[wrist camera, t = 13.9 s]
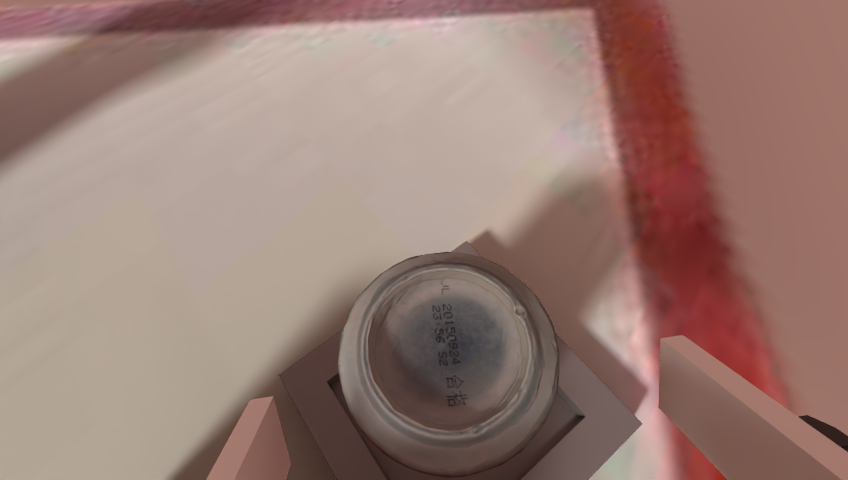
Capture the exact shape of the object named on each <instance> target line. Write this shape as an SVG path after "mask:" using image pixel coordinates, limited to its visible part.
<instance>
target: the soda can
mask: <svg viewBox="0 0 848 480" xmlns="http://www.w3.org/2000/svg"><path fill="white" fill-rule="evenodd" d="M338 369H339V376H340V381H341V385H342V390H343V393H344V396H345V399H346V402H347V405H348V407H349V410H350V412H351V415H352V417H353V419H354V421H355V422H356V424H357V425H358V427H359V428H360V430H361V431H362V433H363V434H364V435H365V436H366V437H367V438H368V439H369V440H370V441H371V442H372V443H373V444H374V445H375V446H376V447H377V448H378V449H379V450H380V451H381V452H382V453H383V454H385V455H386V456H388V457H389V458H391V459H392V460H394V461H395V462H397V463H399V464H401V465H403V466H405V467H407V468H410V469H413V470H415V471H418V472H421V473H425V474H429V475H433V476H439V477H448V478H452V477H465V476H469V475H473V474H477V473H481V472H483V471H486V470H489V469H492V468H495V467H498V466H501V465H502V464H504V463H506V462H507V461H509V460H510V459H512V458H513V457H514V456H516V455H517V454H519V453H520V452H521V451H522V450H523V449H524V448H525V446H526V445H527V444H528V443H529V442H531V441H532V440H533V438H534V437H535V436H536V434H537V433H538V431H539V430H540V429H541V427H542V426H543V424H544V423H545V421H546V419H547V418H548V416H549V413H550V411H551V408H552V406H553V404H554V401H555V398H556V395H557V392H558V382H559V348H558V342H557V338H556V334H555V330H554V327H553V325H552V322H551V320H550V318H549V316H548V314H547V313H546V311H545V309H544V307H543V306H542V304H541V302H540V301H539V299H538V297H537V296H536V295H535V294H534V293H533V292H532V291H531V290H530V289H529V288H528V287H527V286H526V285H525V284H524V283H523V282H521V281H520V280H519V279H518V278H517V277H515V276H514V275H512V274H511V273H510V272H509V271H508V270H507V269H506V268H504V267H502V266H500V265H498V264H495V263H493V262H491V261H489V260H487V259H484V258H482V257H477V256H474V255H470V254H464V253H457V252H442V253H434V254H425V255H420V256H415V257H411V258H408V259H406V260H404V261H402V262H400V263H398V264H396V265H394V266H392V267H391V268H389V269H388V270H386V271H385V272H383V273H382V274H380V275H379V276H378V277H377V278H376V279H375V280H374V281H373V282H372V283H371V284H370V285H369V286H368V287H367V288H366V289H365V290H364V291H363V292H362V293H361V294H360V295H359V297H358V298H357V300H356V302H355V304H354V305H353V307H352V309H351V310H350V312H349V315H348V318H347V321H346V324H345V326H344V329H343V331H342V335H341V340H340V348H339V359H338Z"/></svg>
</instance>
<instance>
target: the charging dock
mask: <svg viewBox="0 0 848 480" xmlns="http://www.w3.org/2000/svg"><path fill="white" fill-rule="evenodd" d="M452 252H457V253H464V254H470V255H474V256H477V257H481V256H480V254H479V253H478V252H477V251H476V250H475V249H474V248H473V247H472V246H471V245H470V244H469V243H468V242H467V241H466V242H464V243H463V244H462V245H460V246H459V247H457V248H456V249H455V250H453V251H452ZM342 331H343V330H341V331H340V332H338V333H337V334H336V335H334V336H333V337H331V338H330V339H329V340H327V341H326V342H324V343H323V344H322V345H320V346H319V347H317V348H316V349H315V350H313V351H312V352H310V353H309V354H308V355H306V356H305V357H303V358H302V359H301V360H299V361H298V362H296V363H295V364H294V365H292V366H291V367H289V368H288V369H287V370H285V371H284V372H282V373H281V374H280V375H279V377H280V379H281V380H282V382H283V384H284V386H285V388H286V389H287V391H288V393H289V395H290V397H291V398H292V400H293V402H294V404H295V405H296V407H297V409H298V411H299V413H300V414H301V416H302V418H303V420H304V422H305V423H306V425H307V427H308V429H309V431H310V432H311V434H312V436H313V438H314V439H315V441H316V443H317V445H318V447H319V448H320V450H321V452H322V454H323V456H324V457H325V459H326V461H327V463H328V465H329V466H330V468H331V470H332V472H333V473H334V475H335V477H336V479H337V480H588V479H589V478H590V477H591V476H592V475H593V474H594V473H595V472H596V471H597V470H598V469H599V468H600V467H601V466H602V465H603V464H604V463H605V462H606V461H607V460H608V459H609V458H610V457H611V456H612V455H613V454H614V453H615V452H616V451H617V449H618V448H619V447H620V446H621V445H622V444H623V443H624V442H625V441H626V440H627V439H628V438H629V437H630V436H631V435H632V434H633V433H634V432H635V431H636V430H637V429H638V428H639V427H640V426H641V425H642V423H641V422H640V421H639V420H638V419H637V417H636V416H635V415H634V414H633V413H632V412H631V411H630V410H629V409H628V408H627V407H626V406H625V405H624V404H623V403H622V402H621V401H620V400H619V399H618V398H617V397H616V396H615V395H614V394H613V393H612V392H611V390H610V389H609V388H608V387H607V386H606V385H605V384H604V383H603V382H602V381H601V380H600V379H599V378H598V377H597V376H596V375H595V374H594V373H593V372H592V371H591V370H590V369H589V368H588V367H587V366H586V365H585V363H584V362H583V361H582V360H581V359H580V358H579V357H578V356H577V355H576V354H575V353H574V352H573V351H572V350H571V349H570V348H569V347H568V346H567V345H566V344H565V343H564V342H563V341H562V340H561V339H560V338H559V336H558V335H557V334H556V333H555V334H556V338H557V342H558V348H559V382H558V392H557V395H556V398H555V401H554V404H553V406H552V408H551V411H550V413H549V416H548V418H547V419H546V421H545V423H544V424H543V426H542V427H541V429H540V430H539V431H538V433H537V434H536V436H535V437H534V438H533V440H532V441H531V442H529V443H528V444H527V445H526V446H525V448H524V449H523V450H522V451H521V452H520V453H519V454H517V455H516V456H514V457H513V458H512V459H510V460H509V461H507V462H506V463H504V464H502V465H501V466H498V467H495V468H492V469H489V470H486V471H483V472H481V473H477V474H473V475H469V476H465V477H452V478H448V477H439V476H433V475H429V474H425V473H421V472H418V471H415V470H413V469H410V468H407V467H405V466H403V465H401V464H399V463H397V462H395V461H394V460H392V459H391V458H389V457H388V456H386V455H385V454H383V453H382V452H381V451H380V450H379V449H378V448H377V447H376V446H375V445H374V444H373V443H372V442H371V441H370V440H369V439H368V438H367V437H366V436H365V435H364V434H363V433H362V431H361V430H360V428H359V427H358V425H357V424H356V422H355V421H354V419H353V417H352V415H351V412H350V410H349V407H348V405H347V402H346V399H345V396H344V393H343V390H342V385H341V381H340V376H339V369H338V359H339V348H340V340H341V335H342Z"/></svg>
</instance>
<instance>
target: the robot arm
mask: <svg viewBox="0 0 848 480" xmlns="http://www.w3.org/2000/svg"><path fill="white" fill-rule="evenodd" d="M659 408H660V409H661V410H662V411H663V412H664V413H665V415H666V416H667V417H668V418H669V419H670V420H671V421H672V422H673V423H674V424H675V425H676V426H677V427H678V428H679V429H680V430H681V431H682V432H683V433H684V435H685V436H686V437H687V438H688V439H689V440H690V441H691V442H692V443H693V444H694V445H695V446H696V447H697V448H698V449H699V450H700V451H701V452H702V453H703V454H704V456H705V457H706V458H707V459H708V460H709V461H710V462H711V463H712V464H713V465H714V466H715V467H716V468H717V469H718V470H719V471H720V472H721V473H722V474H723V476H724V477H725V478H726V479H727V480H848V436H847V435H845V434H844V433H842V432H841V431H839V430H838V429H836V428H834V427H833V426H830V425H828V424H826V423H824V422H821V421H819V420H817V419H815V418H813V417H810V416H808V415H806V416H799V417H797V416H796V415H795V414H793V413H792V412H790V411H789V410H788V409H786V408H785V407H783V406H782V405H781V404H779V403H778V402H776V401H775V400H773V399H772V398H771V397H769V396H768V395H766V394H765V393H764V392H762V391H761V390H759V389H758V388H757V387H755V386H754V385H752V384H751V383H750V382H748V381H747V380H745V379H744V378H742V377H741V376H740V375H738V374H737V373H735V372H734V371H733V370H731V369H730V368H728V367H727V366H726V365H724V364H723V363H721V362H720V361H719V360H717V359H716V358H714V357H713V356H711V355H710V354H709V353H707V352H706V351H704V350H703V349H702V348H700V347H699V346H697V345H696V344H695V343H693V342H692V341H690V340H689V339H688V338H686V337H685V336H683V335H680V336H673V337H667V338H661V348H660V380H659ZM290 466H291V461H290V458H289V454H288V450H287V446H286V442H285V438H284V435H283V431H282V427H281V423H280V419H279V416H278V412H277V408H276V404H275V400H274V396H271V397H265V398H258V399H251V400H250V401H249V403H248V404H247V406H246V408H245V410H244V412H243V414H242V415H241V417H240V419H239V421H238V423H237V424H236V426H235V428H234V430H233V432H232V433H231V435H230V437H229V439H228V441H227V443H226V444H225V446H224V448H223V450H222V452H221V453H220V455H219V457H218V459H217V461H216V463H215V464H214V466H213V468H212V470H211V472H210V473H209V475H208V477H207V479H206V480H286V479H287V475H288V472H289V469H290Z"/></svg>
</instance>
